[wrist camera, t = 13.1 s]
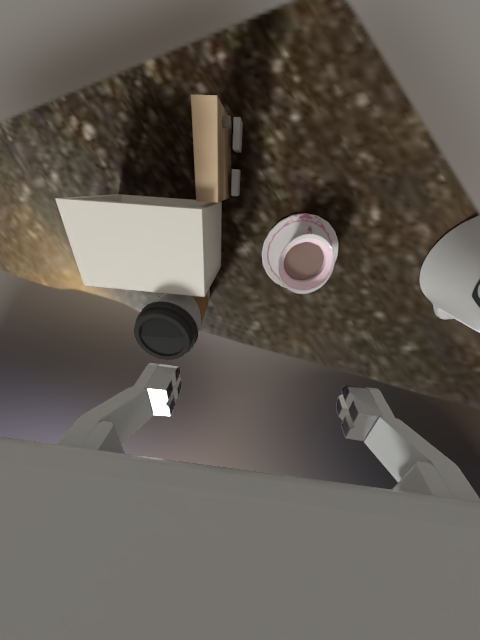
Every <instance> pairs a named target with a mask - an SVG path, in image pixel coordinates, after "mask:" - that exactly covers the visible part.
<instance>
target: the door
mask: <svg viewBox="0 0 480 640" xmlns="http://www.w3.org/2000/svg"><path fill="white" fill-rule="evenodd" d="M191 107H192V127H193V146H194V166H195V186H196V201H200V202H217V203H218V202H221V201H223V200H226V199H228V198H230V185H231V137H232V121H231V116H228V114H227V112H226V111H225V109H224V107H223V105H222V103H221V101H220V100H219V98H218V96H217V95H191Z"/></svg>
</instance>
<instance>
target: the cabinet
mask: <svg viewBox="0 0 480 640" xmlns="http://www.w3.org/2000/svg"><path fill="white" fill-rule="evenodd" d="M242 129H243V123H242V120H241V117H234V120H233V150H234V151H235V152H238V153H241V149H242ZM239 191H240V170H238V169H232V184H231V196H239ZM55 199H56V202H57V205H58V208H59V211H60V214H61V217H62V220H63V223H64V226H65V229H66V232H67V235H68V238H69V241H70V244H71V247H72V250H73V253H74V256H75V259H76V262H77V265H78V268H79V271H80V274H81V277H82V280H83V283H84V285H86V286H97V287H107V288H118V289H128V290H138V291H149V292H159V293H170V294H180V295H190V296H201V297H205V295H206V293H207V291H208V290H209V288H210V286H211V284H212V282H213V280H214V279H215V277H216V275H217V273H218V271H219V269H220V268H221V211H222V202H218V203H217V202H200V201H196V200H191V199H177V198H163V197H149V196H135V195H121V194H115V195H100V196H85V197H70V198H55Z"/></svg>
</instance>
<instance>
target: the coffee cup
mask: <svg viewBox="0 0 480 640" xmlns="http://www.w3.org/2000/svg"><path fill="white" fill-rule="evenodd" d="M209 298H210V290H208V291H207V293H206V295H205V297H201V296H190V295H180V294H170V293H163V294H161V295H160V296H159V297H158V298H157V299H156V300H155V301H154V302H153V303H151V304H148V305H147V306H146V307H144V308H143V309H142V311H141V312H140V314H139V315H138V317H137V319H136V323H135V328H134V334H135V338H136V340H137V342H138V344H139V345H140V346H141V347H142V348H143V349H144V350H145V351H146V352H147V353H149V354H151V355H152V356H155V357H157V358H160V359H166V360H170V359H171V360H172V359H177V358H179V357H181V356H183V355H184V354H185V353H187V352H189V351H190V349H191V348H192V347H193V345H194V343H195V342H196V340H197V338H198V330H199V327H200V326H201V323H202V320H203V317H204V314H205V311H206V308H207V305H208V301H209Z"/></svg>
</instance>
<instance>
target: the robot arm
mask: <svg viewBox="0 0 480 640" xmlns="http://www.w3.org/2000/svg"><path fill="white" fill-rule="evenodd" d="M420 286H421V289H422V292H423V293H424V295H425V296H426V297H427V298H428V299H429V300H430V301H431V302H432V304H433V308H434V312H435V315H436V316H438V317H439V318H441V319H456V320H458V321H460V322H462V323H463V324H465V325H467V326H468V327H470V328H472V329H474V330H475V331H477V332H480V215H479V216H477V217H475V218H472V219H470V220H468V221H466V222H464V223H462V224H460V225H459V226H457V227H456V228H454V229H453V230H451V231H450V232H449V233H447V234H446V235H445V236H444V237H443V238H442V239H440V240H439V241H438V243H437V244H436V245H435V246H434V247H433V248H432V250H431V251H430V252H429V254H428V255H427V257H426V259H425V261H424V263H423V265H422V268H421V272H420ZM180 372H181V371H180V367H177V366H170V365H162V364H154V363H150V364H149V365H147V367H146V368H145V370H144V371H143V373H142V374H141V376H140V377H139V379H138V380H137V382H136V383H135V385H134V386H133V387H129V388H127V389H126V390H124V391H122V392H121V393H119V394H117V395H116V396H114V397H113V398H111V399H109V400H108V401H105V402H104V403H102V404H100V405H99V406H97V407H95V408H94V409H92V410H90V411H89V412H87V413H85V414H84V415H82V416H80V417H79V418H78V419H77V421H76V422H75V423H74V424H73V425H72V427H71V428H70V429H69V430H68V432H67V433H66V434H65V436H64V437H63V438H62V439H61V440H60V442H59V443H58V444H50V443H43V442H42V443H41V442H35V441H28V440H20V439H12V438H6V437H0V640H480V499H479V497H478V496H477V494H476V493H475V491H474V490H473V488H472V487H471V485H470V484H469V482H468V481H467V479H466V478H465V476H464V475H463V473H462V472H461V471H460V469H459V468H458V466H457V465H456V464H454V463H453V462H452V461H451V460H449V459H448V458H447V457H446V456H444V455H443V454H442V453H441V452H439V451H438V450H437V449H436V448H434V447H433V446H432V445H431V444H429V443H428V442H427V441H426V440H424V439H423V438H422V437H421V436H419V435H418V434H417V433H416V432H414V431H413V430H412V429H411V428H409V427H408V426H407V425H406V424H404V423H403V422H402V421H401V420H399V419H395V417H394V415H393V413H392V411H391V410H390V408H389V406H388V405H387V403H386V401H385V399H384V397H383V395H382V394H381V392H380V390H379V389H377V388H367V387H358V386H348V385H345V386H343V388H342V390H341V391H342V395H341V396H339V397H338V400H337V406H336V408H337V413H338V416H339V417H340V418H341V419H342V420H343V422H342V424H341V426H342V429H343V432H344V435H345V438H347V439H354V440H361V441H364V442H365V444H366V445H367V446H368V447H369V448H370V450H371V451H372V452H373V453H374V454H375V455H376V457H377V458H378V459H379V460H380V461H381V463H382V464H383V465H384V466H385V467H386V468H387V470H388V471H389V472H390V473H391V474H392V475H393V477H394V478H395V479H396V480H397V481H398V484H397V485H396V486H395V487H394V488H393V489H392V490H389V489H381V488H374V487H366V486H359V485H352V484H345V483H337V482H330V481H323V480H315V479H308V478H300V477H293V476H286V475H278V474H271V473H264V472H256V471H248V470H241V469H233V468H226V467H219V466H211V465H204V464H197V463H189V462H182V461H175V460H167V459H160V458H153V457H144V456H138V455H131V454H125V452H124V450H123V447H122V445H121V444H122V443H123V442H124V441H125V440H126V439H127V438H128V437H130V436H131V435H132V434H133V433H134V432H135V431H137V430H138V429H139V428H140V427H141V426H142V425H143V424H144V423H146V422H147V421H148V420H149V419H150V418H151V417H152V416H153V415H162V416H171V414H172V411H173V409H174V406H175V399H177V398H178V397H179V394H180V391H181V387H182V379H181V378H180V377H179V375H180Z"/></svg>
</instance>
